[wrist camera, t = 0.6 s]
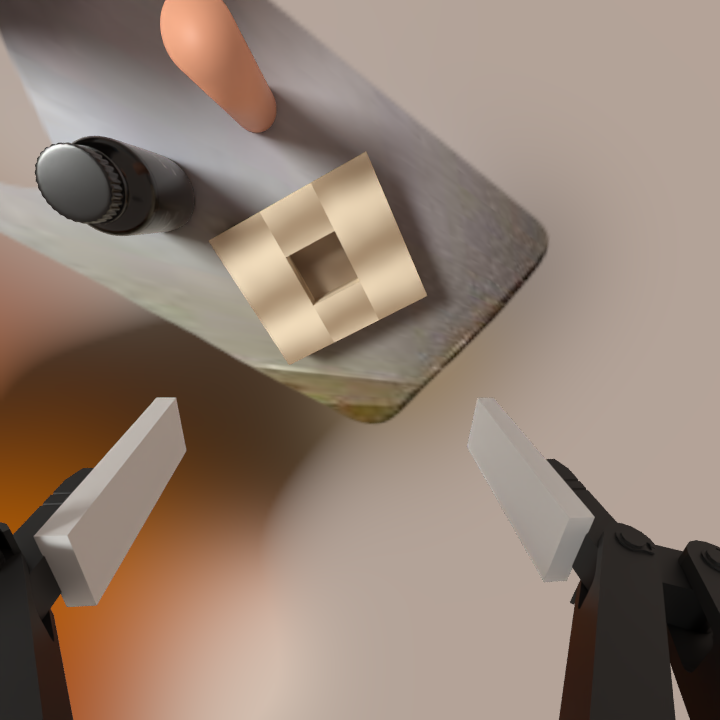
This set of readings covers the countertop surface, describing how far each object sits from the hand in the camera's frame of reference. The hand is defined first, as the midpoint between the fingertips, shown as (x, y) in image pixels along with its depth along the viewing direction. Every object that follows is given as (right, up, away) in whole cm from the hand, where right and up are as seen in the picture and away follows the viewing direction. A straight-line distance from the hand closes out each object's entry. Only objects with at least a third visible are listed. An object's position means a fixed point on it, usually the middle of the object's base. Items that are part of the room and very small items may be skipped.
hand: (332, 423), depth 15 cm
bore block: (-3, +13, +22) cm, 26 cm away
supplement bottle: (-18, +19, +18) cm, 32 cm away
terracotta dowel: (-8, +26, +16) cm, 31 cm away
